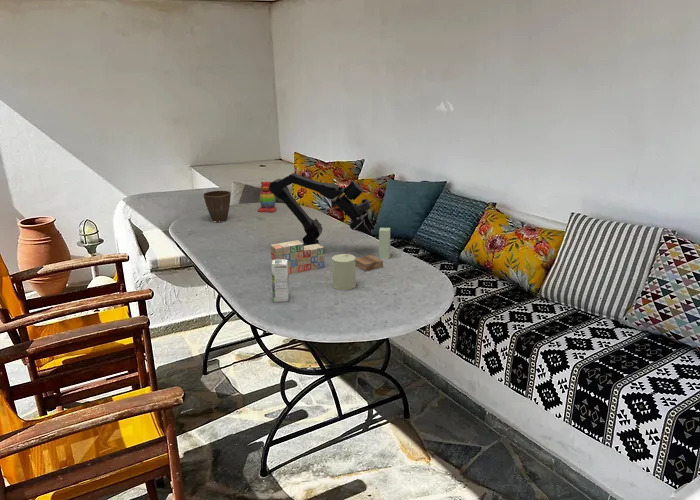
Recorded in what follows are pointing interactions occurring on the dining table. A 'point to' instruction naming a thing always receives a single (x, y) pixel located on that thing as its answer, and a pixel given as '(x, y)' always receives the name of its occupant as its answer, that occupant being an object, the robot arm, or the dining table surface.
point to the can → (344, 271)
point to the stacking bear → (266, 199)
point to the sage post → (384, 243)
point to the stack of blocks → (299, 255)
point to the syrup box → (280, 280)
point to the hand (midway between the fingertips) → (372, 231)
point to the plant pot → (218, 204)
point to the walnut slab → (368, 263)
